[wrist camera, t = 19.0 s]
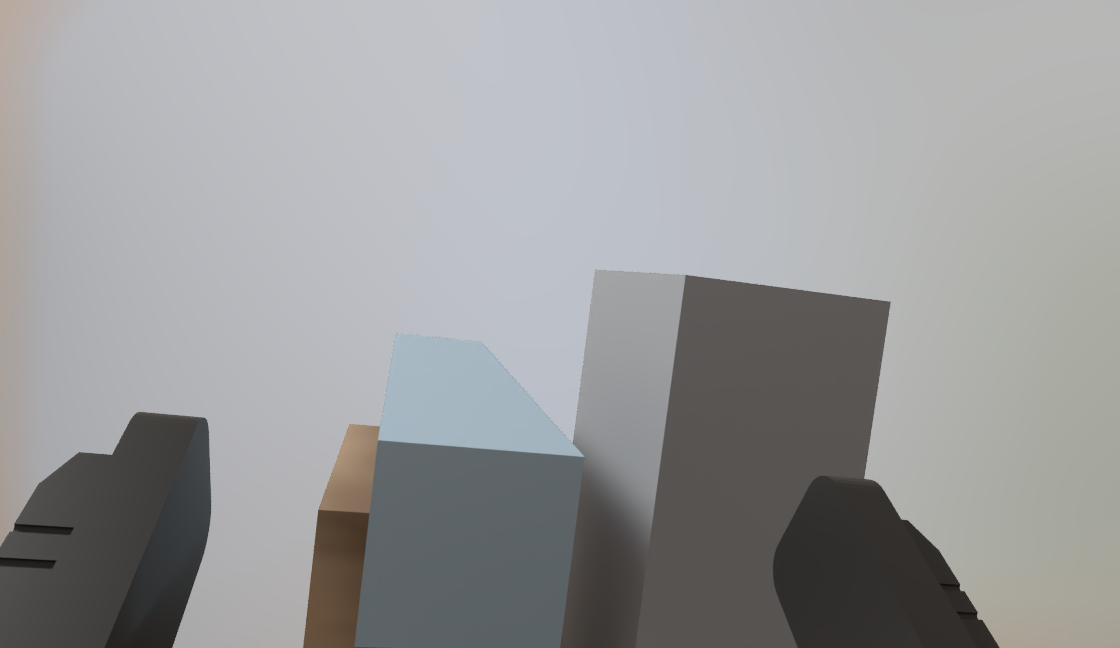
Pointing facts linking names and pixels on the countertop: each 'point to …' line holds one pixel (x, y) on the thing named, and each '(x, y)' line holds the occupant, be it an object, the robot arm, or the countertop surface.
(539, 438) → the beam
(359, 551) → the block
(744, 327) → the block
